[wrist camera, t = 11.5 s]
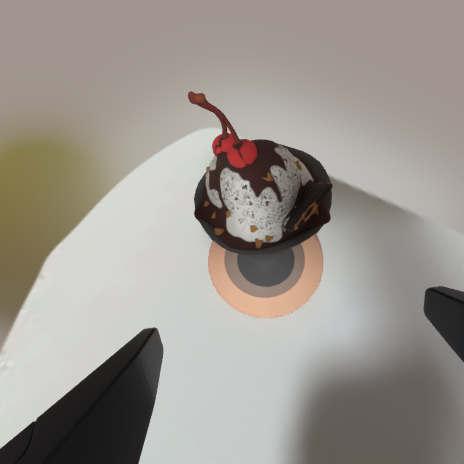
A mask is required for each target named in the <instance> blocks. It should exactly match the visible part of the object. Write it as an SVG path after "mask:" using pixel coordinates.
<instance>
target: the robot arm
mask: <svg viewBox="0 0 464 464" xmlns="http://www.w3.org/2000/svg"><path fill="white" fill-rule="evenodd" d="M424 313H425V315H426V317H427V319H428V320H429V321H430V322H431V323H432V325H433V326H434V327H435V328H436V330H437V331H438V332H439V333H440V334H441V336H442V337H443V338H444V339H445V341H446V342H447V343H448V344H449V345H450V347H451V348H452V349H453V350H454V351H455V353H456V354H457V355H458V356H459V357H460V359H461V360H462V361H463V362H464V292H462V291H458V290H454V289H450V288H447V287H442V286H438V287H431V288H428V289H427V290H426V291H425V299H424ZM162 359H163V345H162V342H161V338H160V335H159V332H158V330H157V328H147V329H144V330H142V331H141V332H140V333H139V334H137V335H136V336H135V337H134V338H133V339H132V340H130V341H129V342H128V343H127V344H126V345H124V346H123V347H122V348H121V349H120V350H118V351H117V352H116V353H115V354H114V355H112V356H111V357H110V358H109V359H108V360H106V361H105V362H104V363H103V364H102V365H100V366H99V367H98V368H97V369H96V370H94V371H93V372H92V373H91V374H90V375H88V376H87V377H86V378H85V379H84V380H82V381H81V382H80V383H79V384H78V385H76V386H75V387H74V388H73V389H72V390H70V391H69V392H68V393H67V394H66V395H65V396H63V397H62V398H61V399H60V400H59V401H57V402H56V403H55V404H54V405H53V406H51V407H50V408H49V409H48V410H47V411H45V412H44V413H43V414H42V415H41V416H39V417H38V418H37V420H36V421H34V422H32V423H31V424H30V425H29V426H27V427H26V428H25V429H24V430H23V431H21V432H20V433H19V434H18V435H17V436H15V437H14V438H13V439H12V440H11V441H9V442H8V443H7V444H6V445H4V446H3V447H2V448H1V449H0V464H138V463H139V460H140V456H141V452H142V449H143V445H144V441H145V438H146V434H147V430H148V427H149V423H150V419H151V416H152V412H153V408H154V404H155V399H156V394H157V388H158V382H159V376H160V370H161V364H162Z"/></svg>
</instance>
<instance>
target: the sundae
mask: <svg viewBox="0 0 464 464" xmlns="http://www.w3.org/2000/svg"><path fill="white" fill-rule="evenodd" d="M188 98H189V101H190V102H191V103H192V104H196V105H198V106H200V107H202V108H205V109H207V110H209V111H211V112H213V113H215V115H216V116H217V117H218V118H219V120H220V122H221V124H222V129H223V131H222V134H221V135H219V136H217V137H216V138H215V140H214V141H213V144H212V148H213V153H214V154H215V157H214V158H213V160H212V161H211V163H210V166H209V167H207V172H206V173H205V174H204V176H203V177H202V179H201V180H200V182H199V184H198V186H197V189H196V192H195V197H194V202H195V212H194V215H195V217H196V219H197V220H198V221H199V222H200V223H201V225H202V227H203V228H204V230H205V231H206V233H207V234H208V235H209V236H210V238H211V239H212V240H213V241H214V242H216V243H217V244H218V245H219V246H221V247H222V248H224V249H226V250H228V251H230V252H233V253H237V254H238V256H237V263H238V267H239V270H240V272H241V274H242V275H243V276H244V278H245V279H246V280H247V281H249V282H251V283H252V284H254V285H257V286H262V287H271V286H275V285H278V284H280V283H282V282H283V281H285V280H286V279H287V278H288V277H289V276H290V274H291V272H292V270H293V268H294V262H295V258H294V253H293V250H292V248H291V247H294V246H297V245H299V244H300V243H302V242H304V241H306V240H307V239H309V238H310V237H312V236H313V235H314V234H316V233H317V232H318V231H319V230H320V229H321V227H322V226H323V225H324V224H326V223H328V222H329V221H330V219H331V218H330V213H329V211H330V208H331V199H332V192H331V189H332V187H333V185H332V184H331V183H330V179H329V177H328V175H327V173H326V170H325V169H324V167H323V166H322V165H321V163H320V162H319V161H317V160H316V159H315V158H313V157H312V156H311V155H309V154H307V153H305V152H303V151H300V150H297V149H294V148H291V147H287V146H284V145H281V144H277V143H275V142H273V141H269V140H251V141H249V140H247V139H239V138H238V136H237V134H236V132H235V130H234V129H233V127H232V125H231V124H230V122H229V121H228V119H227V118H226V117H225V115H224V114H223V113H222V112H221V111H220V110H219V109H217V108H216V107H215V106H213V105H211V104H210V103H208V101H207V100H206V98H205V95H204V94H203V93H200V94H195V93H193V92H189V93H188ZM227 127H228V128H229V130H230V132H231V134H229V133H227Z"/></svg>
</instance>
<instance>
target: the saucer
mask: <svg viewBox="0 0 464 464" xmlns="http://www.w3.org/2000/svg"><path fill="white" fill-rule="evenodd" d="M291 248H292V250H293V253H294V258H295V262H294V268H293V270H292V272H291V274H290V276H289V277H288V278H287V279H286V280H285V281H283V282H282V283H280V284H278V285H275V286H271V287H262V286H257V285H254V284H252V283H251V282H249V281H247V280H246V279H245V278H244V276H243V275H242V274H241V272H240V270H239V267H238V263H237V256H238V254H237V253H233V252H230V251H228V250H226V249H224V248H222V247H221V246H219V245H218V244H217V243H216V242H214V241H213V242H212V244H211V247H210V251H209V257H208V267H209V273H210V277H211V280H212V283H213V285H214V287H215V289H216V290H217V292H218V293H219V295H220V296H221V297H222V298H223V299H224V300H225V301H226V302H227V303H228V304H229V305H230V306H232V307H233V308H234V309H236V310H238V311H239V312H241V313H244V314H246V315H249V316H253V317H257V318H275V317H281V316H284V315H287V314H289V313H291V312H293V311H295V310H297V309H298V308H300V307H301V306H303V305H304V304H305V303H306V302H307V301H308V300H309V299H310V297H311V296H312V295H313V294H314V292H315V290H316V289H317V287H318V285H319V282H320V280H321V277H322V272H323V254H322V250H321V247H320V244H319V241H318V240H317V238H316V236H315V234H314V235H313V236H312V237H310V238H309V239H307V240H306V241H304V242H302V243H300V244H299V245H297V246H294V247H291Z"/></svg>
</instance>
